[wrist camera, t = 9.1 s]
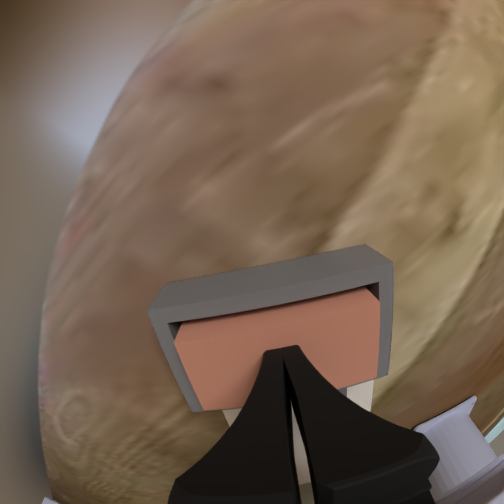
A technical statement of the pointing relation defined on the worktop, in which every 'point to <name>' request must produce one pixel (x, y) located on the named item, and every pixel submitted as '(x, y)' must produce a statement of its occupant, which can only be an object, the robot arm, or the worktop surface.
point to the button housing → (272, 298)
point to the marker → (302, 465)
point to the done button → (281, 344)
